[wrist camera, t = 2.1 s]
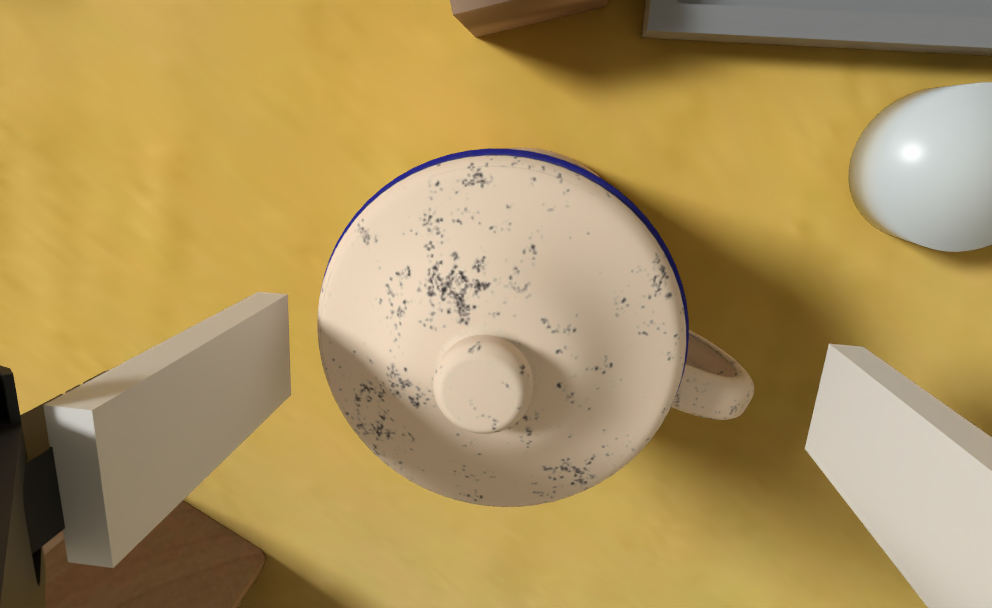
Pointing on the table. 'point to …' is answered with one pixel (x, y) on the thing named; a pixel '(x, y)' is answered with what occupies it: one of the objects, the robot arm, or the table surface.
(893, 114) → the white egg-shaped dome
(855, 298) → the table surface
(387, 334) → the teacup with lid
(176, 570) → the decorative block
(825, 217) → the table surface
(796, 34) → the tray
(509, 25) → the walnut cube
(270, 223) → the table surface
